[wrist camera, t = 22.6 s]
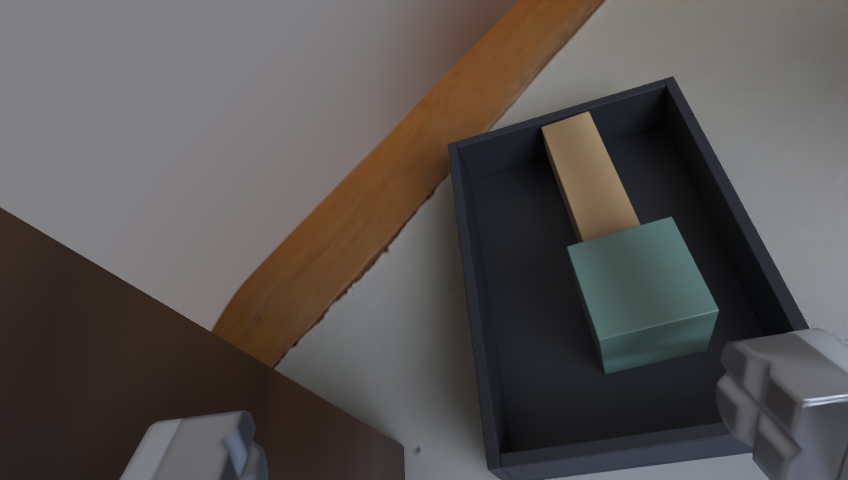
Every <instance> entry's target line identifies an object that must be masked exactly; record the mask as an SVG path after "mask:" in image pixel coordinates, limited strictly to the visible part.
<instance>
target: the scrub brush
mask: <svg viewBox="0 0 848 480" xmlns="http://www.w3.org/2000/svg"><path fill="white" fill-rule="evenodd" d="M541 130H542V134H543V138H544V143H545V147H546V152H547V156H548V159H549V162H550V165H551V168H552V170H553V173H554V176H555V179H556V181H557V184H558V187H559V190H560V193H561V195H562V198H563V201H564V204H565V206H566V209H567V212H568V215H569V217H570V220H571V223H572V226H573V228H574V231H575V234H576V237H577V240H578V242H579V243H578V244H574V245H571V246H567V251H568V256H569V260H570V264H571V269H572V273H573V278H574V282H575V286H576V291H577V294H578V297H579V300H580V302H581V305H582V308H583V311H584V314H585V317H586V320H587V323H588V326H589V329H590V332H591V335H592V338H593V341H594V344H595V347H596V350H597V353H598V356H599V359H600V362H601V365H602V368H603V371H604V373H605V374H609V373H613V372H617V371H622V370H626V369H630V368H634V367H639V366H643V365H647V364H652V363H656V362H660V361H665V360H669V359H673V358H677V357H682V356H686V355H690V354H695V353H699V352H703V351H706V350H707V348H708V345H709V342H710V338H711V335H712V332H713V328H714V325H715V322H716V319H717V315H718V312H719V309H718V307H717V305H716V303H715V301H714V299H713V297H712V295H711V293H710V291H709V289H708V287H707V285H706V283H705V281H704V279H703V277H702V275H701V273H700V271H699V269H698V267H697V266H696V264H695V262H694V260H693V258H692V256H691V254H690V252H689V250H688V248H687V246H686V244H685V242H684V240H683V238H682V236H681V234H680V232H679V230H678V228H677V226H676V224H675V222H674V220H673V218H672V217H668V218H664V219H661V220H657V221H654V222H650V223H647V224H643V225H640V223H639V220H638V218H637V216H636V214H635V212H634V209H633V207H632V205H631V203H630V201H629V198H628V196H627V194H626V192H625V190H624V187H623V185H622V183H621V181H620V179H619V177H618V174H617V172H616V170H615V168H614V166H613V163H612V161H611V159H610V157H609V155H608V152H607V150H606V148H605V146H604V144H603V142H602V139H601V137H600V135H599V133H598V131H597V128H596V126H595V124H594V122H593V120H592V117H591V115H590V113H589V112H585V113H582V114H579V115H576V116H573V117H570V118H567V119H564V120H561V121H558V122H555V123H552V124H549V125H546V126H543V127H542V128H541Z"/></svg>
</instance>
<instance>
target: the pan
mask: <svg viewBox="0 0 848 480" xmlns="http://www.w3.org/2000/svg"><path fill="white" fill-rule="evenodd" d="M585 112H589V113H590V115H591V117H592V120H593V122H594V124H595V126H596V128H597V131H598V133H599V135H600V137H601V139H602V142H603V144H604V146H605V148H606V150H607V152H608V155H609V157H610V159H611V161H612V163H613V166H614V168H615V170H616V172H617V174H618V177H619V179H620V181H621V183H622V185H623V187H624V190H625V192H626V194H627V196H628V198H629V201H630V203H631V205H632V207H633V209H634V212H635V214H636V216H637V218H638V220H639V223H640V225H643V224H647V223H650V222H654V221H657V220H661V219H664V218H668V217H672V218H673V220H674V222H675V224H676V226H677V228H678V230H679V232H680V234H681V236H682V238H683V240H684V242H685V244H686V246H687V248H688V250H689V252H690V254H691V256H692V258H693V260H694V262H695V264H696V266H697V267H698V269H699V271H700V273H701V275H702V277H703V279H704V281H705V283H706V285H707V287H708V289H709V291H710V293H711V295H712V297H713V299H714V301H715V303H716V305H717V307H718V309H719V312H718V315H717V319H716V322H715V325H714V328H713V332H712V335H711V338H710V342H709V345H708V348H707V350H706V351H703V352H699V353H695V354H690V355H686V356H682V357H677V358H673V359H669V360H665V361H660V362H656V363H652V364H647V365H643V366H639V367H634V368H630V369H626V370H622V371H617V372H613V373H609V374H605V373H604V371H603V368H602V365H601V362H600V359H599V356H598V353H597V350H596V347H595V344H594V341H593V338H592V335H591V332H590V329H589V326H588V323H587V320H586V317H585V314H584V311H583V308H582V305H581V302H580V300H579V297H578V294H577V291H576V286H575V282H574V278H573V273H572V269H571V264H570V260H569V256H568V251H567V246H571V245H574V244H578V243H579V242H578V240H577V237H576V234H575V231H574V228H573V226H572V223H571V220H570V217H569V215H568V212H567V209H566V206H565V204H564V201H563V198H562V195H561V193H560V190H559V187H558V184H557V181H556V179H555V176H554V173H553V170H552V168H551V165H550V162H549V159H548V156H547V152H546V147H545V143H544V138H543V134H542V130H541V128H542V127H543V126H546V125H549V124H552V123H555V122H558V121H561V120H564V119H567V118H570V117H573V116H576V115H579V114H582V113H585ZM448 151H449V159H450V167H451V175H452V183H453V191H454V199H455V207H456V215H457V223H458V231H459V240H460V248H461V256H462V264H463V272H464V280H465V288H466V296H467V304H468V312H469V320H470V328H471V336H472V345H473V353H474V361H475V369H476V377H477V385H478V393H479V401H480V409H481V417H482V425H483V433H484V442H485V450H486V458H487V466H488V470H489V471H491V472H492V473H493V474H495V475H496V476H497V477H499V478H500V479H501V480H545V479H552V478H560V477H568V476H575V475H583V474H591V473H598V472H606V471H614V470H621V469H629V468H637V467H644V466H652V465H660V464H667V463H675V462H683V461H690V460H698V459H706V458H713V457H721V456H729V455H736V454H744V453H752V452H753V447H751V446H750V445H748V444H746V443H744V442H742V441H740V440H738V439H736V438H735V437H734V436H733V435H732V434H731V432H730V431H729V430H728V429H727V427H726V426H725V424H724V422H723V420H722V418H721V416H720V414H719V411H718V407H717V402H716V388H717V382H718V381H719V380H720V379H721V378H722V376H723V375H724V374H725V373H726V372H727V370H726V368H725V367H724V366H723V365H722V363H721V362H720V360H721V354H722V349H723V348H724V346H725V345H726V343H727V342H731V341H738V340H745V339H751V338H758V337H765V336H772V335H778V334H785V333H787V332H793V331H799V330H805V329H810V328H809V327H808V325H807V323H806V321H805V319H804V317H803V315H802V314H801V312H800V310H799V308H798V306H797V304H796V303H795V301H794V299H793V297H792V295H791V293H790V291H789V290H788V288H787V286H786V284H785V282H784V280H783V278H782V277H781V275H780V273H779V271H778V269H777V267H776V266H775V264H774V262H773V260H772V258H771V256H770V254H769V253H768V251H767V249H766V247H765V245H764V243H763V241H762V240H761V238H760V236H759V234H758V232H757V230H756V229H755V227H754V225H753V223H752V221H751V219H750V217H749V216H748V214H747V212H746V210H745V208H744V206H743V204H742V203H741V201H740V199H739V197H738V195H737V193H736V192H735V190H734V188H733V186H732V184H731V182H730V180H729V179H728V177H727V175H726V173H725V171H724V169H723V168H722V166H721V164H720V162H719V160H718V158H717V156H716V155H715V153H714V151H713V149H712V147H711V145H710V143H709V142H708V140H707V138H706V136H705V134H704V132H703V131H702V129H701V127H700V125H699V123H698V121H697V119H696V118H695V116H694V114H693V112H692V110H691V108H690V106H689V105H688V103H687V101H686V99H685V97H684V95H683V94H682V92H681V90H680V88H679V86H678V84H677V82H676V81H675V79H674V77H669V78H666V79H663V80H659V81H656V82H653V83H650V84H646V85H643V86H640V87H636V88H633V89H630V90H626V91H623V92H620V93H616V94H613V95H610V96H606V97H603V98H600V99H597V100H593V101H590V102H587V103H583V104H580V105H577V106H573V107H570V108H567V109H563V110H560V111H557V112H553V113H550V114H547V115H543V116H540V117H537V118H534V119H530V120H527V121H524V122H520V123H517V124H514V125H510V126H507V127H504V128H500V129H497V130H494V131H490V132H487V133H484V134H481V135H477V136H474V137H471V138H467V139H464V140H461V141H457V142H454V143H451V144H448Z"/></svg>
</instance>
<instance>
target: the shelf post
mask: <svg viewBox="0 0 848 480" xmlns="http://www.w3.org/2000/svg"><path fill="white" fill-rule="evenodd" d="M243 410H246V411H248V412H250V413H251V415H252V418H253V421H254V423H255V426H256V430H255V434H254V437H253V441H254V442H255V443H257V444H258V445H260V446H261V447H262V448H263V450H264V453H265V457H266V461H267V468H268V480H405V471H404V447H403V446H402V445H401V444H399V443H397V442H396V441H394V440H392V439H391V438H389V437H387V436H385V435H384V434H382V433H380V432H379V431H377V430H375V429H374V428H372V427H370V426H369V425H367V424H365V423H364V422H362V421H360V420H358V419H357V418H355V417H353V416H352V415H350V414H348V413H347V412H345V411H343V410H342V409H340V408H338V407H336V406H335V405H333V404H331V403H330V402H328V401H326V400H325V399H323V398H321V397H320V396H318V395H316V394H315V393H313V392H311V391H309V390H308V389H306V388H304V387H303V386H301V385H299V384H298V383H296V382H294V381H293V380H291V379H289V378H288V377H286V376H284V375H282V374H281V373H279V372H277V371H276V370H274V369H272V368H271V367H269V366H267V365H266V364H264V363H262V362H261V361H259V360H257V359H255V358H254V357H252V356H250V355H249V354H247V353H245V352H244V351H242V350H240V349H239V348H237V347H235V346H234V345H232V344H230V343H228V342H227V341H225V340H223V339H222V338H220V337H218V336H217V335H215V334H213V333H212V332H210V331H208V330H206V329H205V328H203V327H201V326H199V325H198V324H196V323H195V322H193V321H191V320H190V319H188V318H186V317H185V316H183V315H181V314H179V313H178V312H176V311H174V310H173V309H171V308H169V307H168V306H166V305H164V304H163V303H161V302H159V301H158V300H156V299H154V298H152V297H151V296H149V295H147V294H145V293H144V292H142V291H141V290H139V289H137V288H135V287H134V286H132V285H131V284H129V283H127V282H125V281H124V280H122V279H120V278H119V277H117V276H115V275H114V274H112V273H110V272H108V271H107V270H105V269H103V268H102V267H100V266H98V265H97V264H95V263H93V262H92V261H90V260H88V259H86V258H85V257H83V256H82V255H80V254H78V253H76V252H75V251H73V250H71V249H70V248H68V247H66V246H65V245H63V244H61V243H60V242H58V241H56V240H55V239H53V238H51V237H49V236H48V235H46V234H44V233H43V232H41V231H39V230H38V229H36V228H34V227H33V226H31V225H29V224H28V223H26V222H24V221H22V220H21V219H19V218H17V217H16V216H14V215H12V214H11V213H9V212H7V211H6V210H3V209H2V208H0V480H119V479H120V477H121V476H122V474H123V472H124V470H125V469H126V467H127V465H128V463H129V462H130V460H131V458H132V456H133V454H134V453H135V451H136V449H137V447H138V446H139V444H140V442H141V440H142V439H143V437H144V435H145V433H146V432H147V430H148V428H149V427H150V426H151V425H153V424H154V423H155V422H157V421H164V420H172V419H180V418H187V417H193V416H201V415H210V414H218V413H227V412H235V411H243Z"/></svg>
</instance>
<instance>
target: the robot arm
mask: <svg viewBox="0 0 848 480" xmlns="http://www.w3.org/2000/svg"><path fill="white" fill-rule="evenodd" d="M720 362H721V363H722V365H723V366H724V367H725V368H726V370H727V372H726V373H725V374H724V375H723V376H722V378H721V379H720V380H719V381H718V382H717V388H716V402H717V407H718V411H719V414H720V416H721V418H722V420H723V422H724V424H725V426H726V427H727V429H728V430H729V431H730V432H731V434H732V435H733V436H734V437H735V438H736V439H738V440H740V441H742V442H744V443H746V444H748V445H750V446H751V447H753V460H754V462H755V463H756V464H757V465H758V466H759V468H760V469H761V470H762V471H763V472H764V474H765V475H766V476H767V477H768V478H769V480H848V346H847V345H846V344H844V343H843V342H841V341H840V340H839V339H837V338H836V337H834V336H833V335H832V334H830V333H829V332H827V331H825V330H822V329H818V328H811V329H805V330H799V331H793V332H787V333H785V334H778V335H772V336H765V337H758V338H751V339H745V340H738V341H731V342H727V343H726V345H725V346H724V348H723V349H722V354H721V360H720ZM255 430H256V426H255V423H254V421H253V418H252V415H251V413H250V412H248V411H246V410H243V411H235V412H227V413H218V414H210V415H201V416H193V417H187V418H180V419H172V420H164V421H157V422H155V423H154V424H153V425H151V426H150V427H149V428H148V430H147V432H146V433H145V435H144V437H143V439H142V440H141V442H140V444H139V446H138V447H137V449H136V451H135V453H134V454H133V456H132V458H131V460H130V462H129V463H128V465H127V467H126V469H125V470H124V472H123V474H122V476H121V477H120V479H119V480H268V468H267V461H266V457H265V453H264V450H263V448H262V447H261V446H260V445H258V444H257V443H255V442H254V441H253V437H254V434H255Z"/></svg>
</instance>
